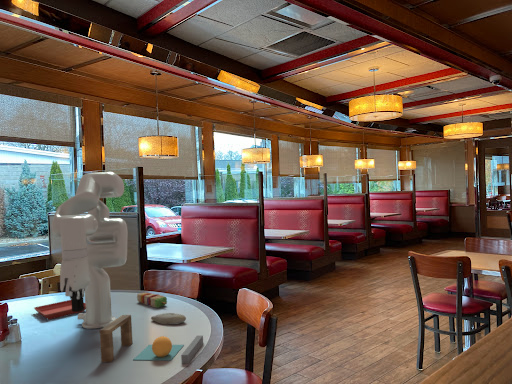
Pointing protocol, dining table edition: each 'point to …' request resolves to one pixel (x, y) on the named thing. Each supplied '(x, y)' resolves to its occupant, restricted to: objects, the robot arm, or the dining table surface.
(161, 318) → the decorative stone
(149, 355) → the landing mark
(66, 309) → the plant saucer
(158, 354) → the ball
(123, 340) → the bridge
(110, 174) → the robot arm
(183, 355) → the stopper rail
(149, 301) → the skewer
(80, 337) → the dining table surface
